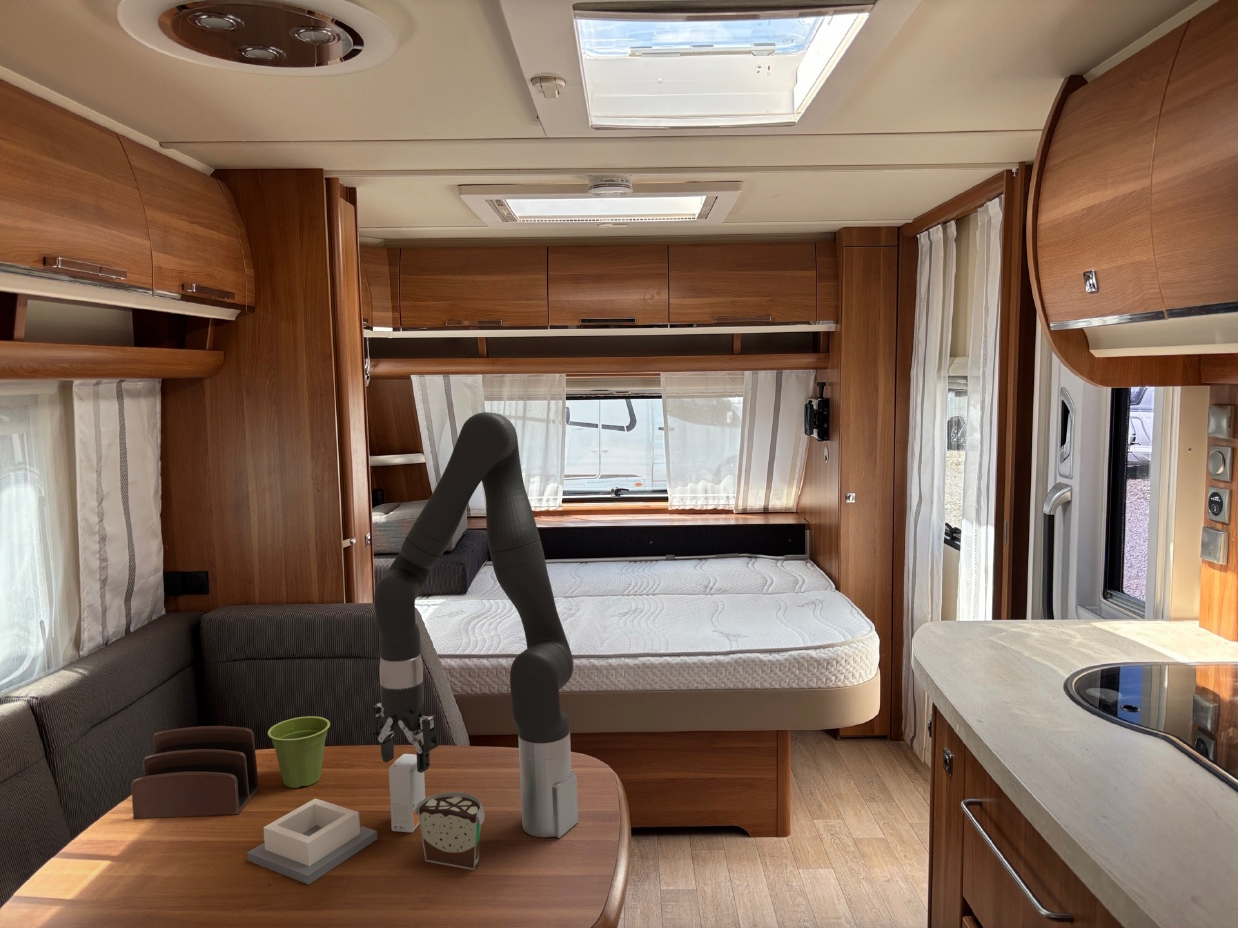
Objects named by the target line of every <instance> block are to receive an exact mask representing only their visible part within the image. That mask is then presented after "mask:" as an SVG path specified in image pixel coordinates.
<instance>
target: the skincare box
mask: <svg viewBox="0 0 1238 928" xmlns="http://www.w3.org/2000/svg"><path fill="white" fill-rule="evenodd" d="M388 781H389V782H388V783H389V798H390V799H389V802H390V805H389V806H390V820H391V821H390V823H391V824H390V825H391V831H393V832H400V833H402V832H403V833H413V832H414V831H415V830H416V829H417V827H418V826H420V822H419V815H418V814H417V815H415V812H416V807H417V804H418V803H419V802H420V801H422V800H424V799H425V798H426V784H425V782H426V781H425V771H424V772H422V773H420V772H418V771H417V754H415V753H414V754H412V753H403V754H402V755H400V757H398V758H397V759H396V760H395V761H394V762H393V763H392V765H390V766H389V767H388Z"/></svg>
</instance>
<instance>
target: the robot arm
mask: <svg viewBox="0 0 1238 928" xmlns="http://www.w3.org/2000/svg"><path fill="white" fill-rule="evenodd" d="M519 450H520V449H519V440H518V433H517V431H516V428H515V426H514V424H513V423H512V421H510V419H509V418H507V416H505V415H502V414H500V413H496V412H486V411H484V412H478V413H475V414H473V415H472V416H470V417H469V418H468V419H466V421H464V423H463V425H462V427H461V429H460V432H459V434H458V437H457V440H456V442H455V444H454V448H453V450H452V452H451V455H450V456H449V457H450V458H449V460H448V462H447V464H446V467H445V469H444V470H443V473H442V476H441V477H440V479H439V481H438V482H437V483H438V484H437V485H436V487H435V488H434V490H433V492H432V494H431V495H430V497H429V499H428V500H427V502H426V503H425V505H424V507H423V509H422V510H421V512H420V513H419V515H418V517H417V518H416V520H415V522H414V523H413V524H412V526H411V528H410V530H409V532H408V533H407V534H406V537H405V538H404V541H403V543H402V544H401V549H400V551H399V553H398V554H397V556H396V557H395V559H393V562H392V563H391V565H390V567H389V568H388V569H387V571H386V572H385V574H384V575H383V576H382V578H381V579H380V580H379V581H378V582H377V584H376V586H375V588H374V596H373V598H374V599H373V601H374V603H373V605H374V611H375V617H376V622H377V626H378V631H379V655H380V660H379V661H380V662H379V687H380V702H378V703H376V704H374V705H373V706H371V707H370V735H371V737H372V738H377V740H378V742H379V743H380V756H381V758H382V762H384V763H388V762H390V761H393V759H394V757H395V749H394V747H395V746H394V739H393V736H394V735H401V736H402V737H403V738H406V739H407V740H408V743H410V744H412V745H413V747H414V748H415V750H416V755H417V771H418V772H420V773H422V772H424V773H425V771H427V770H429V768H430V766H431V760H430V757H431V756H430V755H431V754H430V752H431V751H433V750H435V749H436V748H438V747H439V744H440V743H439V736H438V734H439V732H438V723H437V722H438V721H437V716H436V715H435V714H431V715H430V716H426V715H424V714H423V712H422V707H423V704H424V702H425V694H424V693H425V689H424V666H423V665H424V664H423V660H422V652H421V651H422V650H421V649H422V648H421V633H420V627H419V625H418V624H417V623H416V599H417V598H418V596H419V594H420V593H421V591H422V589H423V587H424V585H425V583H426V581H427V580H428V578H429V576H430V574H431V572H432V570H433V568H434V567H435V565H437V563H438V562H439V560H440V559H441V558H442V555H443V554H444V552H445V551H446V550H447V547H448V546H449V544H450V543H451V540H452V539H453V538H454V535H455V534H456V532H457V530H458V528H459V525H460V523H461V521H462V518H463V516H464V513H465V511H466V509H467V506H468V504H469V502H470V501H471V499H472V496H473V494H474V493H475V491H476V489H477V488H478V486H479V485H480V483H482V487H483V491H484V496H485V514H486V515H485V517H486V518H485V521H486V522H485V523H486V537H487V545H488V551H489V555H490V559H491V563H492V568H493V571H494V575H495V578H496V581H497V582H498V585H500V587H501V589H502V590H503V592H504V593H505V595H506V596H507V598H508V599H509V600H510V602H511V603H512V605H513V606H514V607H515V609H516V611H517V613H518V615H519V617H520V620H521V623H522V629H523V632H524V636H525V642H526V649H525V650H523V651H522V652H520V653H519V654H518V655H516V657H515V658H514V660H513V661H512V663H511V666H510V672H509V689H510V698H511V699H510V700H511V709H512V717H513V720H514V723H515V725H516V727H517V734H518V735H517V736H518V737H517V738H518V755H519V756H518V757H519V759H518V760H519V781H520V782H519V783H520V804H521V806H520V807H521V821H522V822H521V823H522V830H523V831H524V832H526V834H527V835H530V836H532V837H536V838H537V837H538V838H551V837H554V838H559V839H560V838H562V837H563V836H564V835H566V834H567V832H568V831H570V829H572V828H573V827H574V826H575V825H576V824H577V823H579V814H578V811H579V809H578V788H577V787H578V784H577V772H576V771H573V770H572V756H571V755H572V754H571V750H572V749H571V722H570V721H571V720H570V717H569V715H568V714H567V713H566V712H565V711H563V710H562V709H561V703H560V702H561V701H560V690H562V688H563V687H564V686H565V685H566V684H568V682H569V681H570V679H571V678H572V676H573V674H574V673H573V672H574V668H575V667H574V658H573V654H572V650H571V648H570V644H569V641H568V638H567V636H566V633H565V631H564V628H563V625H562V621H561V619H560V616H559V613H558V609H557V606H556V602H555V598H554V597H555V595H554V592H553V588H552V584H551V581H550V577H549V572H548V568H547V564H546V563H547V562H546V559H545V558H546V556H545V552H544V548H543V545H542V541H541V537H540V532H539V530H538V527H537V526H538V525H537V522H536V519H535V516H534V512H533V509H532V506H531V503H530V500H529V496H528V494H527V491H526V488H525V482H524V478H523V472H522V464H521V458H520V451H519ZM416 732H418V734H416ZM415 734H416V735H415Z"/></svg>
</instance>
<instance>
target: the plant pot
mask: <svg viewBox="0 0 1238 928" xmlns="http://www.w3.org/2000/svg"><path fill="white" fill-rule="evenodd" d="M330 726H331V722H330V720H328V719H327V718H324V717H323V716H314V715H313V716H310V715H309V716H299V717H294V718H290V719H286V720H283V721H280V722H278V723H276V724H274V725H273V726H271V727H270V728H269V730H268V731H267V736H268V737H269V738H270V739H271V742H272V745H273V746H272V747H274V751H275V753H276V758H277V761H278V767H279V770H280V771H279V772H280V775H281V780H282V784H283V785H284V786H285V787H287V788H292V789H297V788H300V787H303V786H304V787H309V786H311V785H312V786H313V784H315V783H317V782H319V781H320V779H321V776H322V770H323V769H322V768H323V760H324V753H325V751H324V750H325V743H326V739H327V734H328V730H329V728H330Z"/></svg>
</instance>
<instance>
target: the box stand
mask: <svg viewBox="0 0 1238 928" xmlns="http://www.w3.org/2000/svg"><path fill="white" fill-rule="evenodd" d="M263 839H264V842H263V843H262V844H260V845H258V846H256V847H254V848H253V849H251V850H249V851H248V852H247V853H246V854H247V861H248V862H250V861H251V862H250V863H252V862H253V864H255V863H256V865H257V864H258V865H257V866H260V867H262V866H264V867H263V868H265V869H267V868H268V870H270V871H273V872H274V873H275V872H276V873H278V874H280V875H284V876H285V875H286V876H285V877H288V878H290V877H291V878H290V879H293V880H296V881H299V882H301V883H304V884H306V885H310V884H311V883H313V882H314V881H316V880H317V879H319V878H320V877H323V876H325V875H326V873H328V872H330V871H331V870H333V869H334V868H336V867H337V866H340V864H342V863H343V862H345V861H346V860H348V859H350V858H351V857H353V856H354V855H356V854H357V853H359V852H360V851H362V850H363V849H365V848H366V847H368V846H369V845H371V844H372V843H374V842H376V840H378V831H377V830H374V829H372V828H369V827H366V826H363V825H360V812H359V811H356V810H353V809H350V808H347V807H344V806H340V805H338V804H334V803H331V802H328V801H325V800H321V799H318V798H314V799H312V800H310V801H308V802H306V803H304V804H303V805H301V806H299V807H297V808H295V809H294V810H292V811H289V812H288V813H287V814H285V815H283V816H281V817H278V819H276V820H274V821H273V822H271V823H269V824H267V825H265V826H264V827H263Z"/></svg>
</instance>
